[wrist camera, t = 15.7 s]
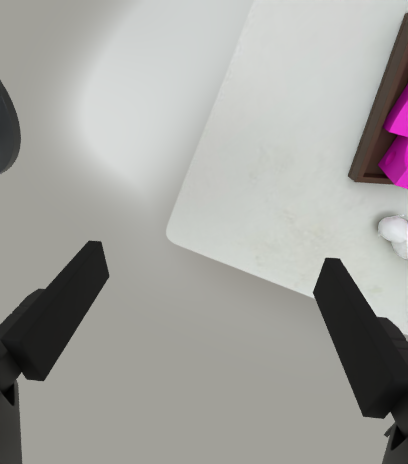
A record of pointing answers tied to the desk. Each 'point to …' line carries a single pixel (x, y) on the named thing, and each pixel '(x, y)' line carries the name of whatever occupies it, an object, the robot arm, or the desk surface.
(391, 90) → the dark brown rectangular tray
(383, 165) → the magenta curved bracket
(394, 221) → the white lumpy piece
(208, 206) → the desk surface
